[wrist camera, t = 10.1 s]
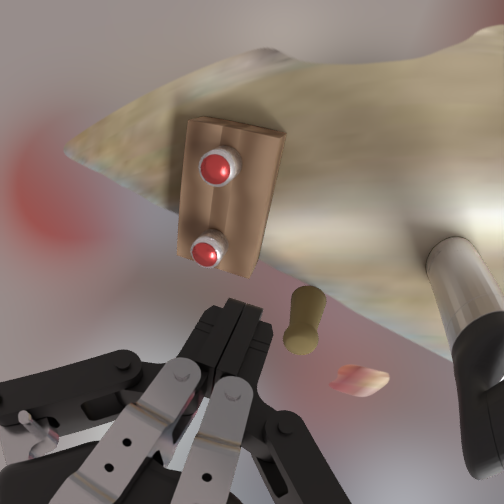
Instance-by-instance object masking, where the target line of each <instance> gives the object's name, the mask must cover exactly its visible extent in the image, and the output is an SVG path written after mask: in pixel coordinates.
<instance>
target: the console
mask: <svg viewBox="0 0 504 504" xmlns="http://www.w3.org/2000/svg"><path fill="white" fill-rule="evenodd" d="M286 135H287V133H284V132H280V131H275V130H271V129H267V128H262V127H258V126H253V125H249V124H244V123H239V122H234V121H228V120H223V119H217V118H212V117H206V116H203V117H199V118H195V119H190V120H188V125H187V133H186V142H185V151H184V160H183V171H182V182H181V194H180V207H179V223H178V241H177V255H178V256H181V257H184V258H187V259H190V260H193V261H194V259H193V258H192V256H191V251H190V249H191V246H192V244H193V243H194V242H195V241H196V239H197V238H198V237H199V236H200V235H201V234H202V233H203V232H204V231H205V230H208V229H215V230H218V231H220V232H221V233H222V234H224V236H225V237H226V238H227V240H228V245H229V246H228V250H227V252H226V253H225V255H224V256H223V258H222V259H221V261H220V262H219V264H218V265H217V266H215V267H214V268H217V269H220V270H223V271H227V272H229V273H232V274H236V275H238V276H242V277H245V278H248V279H249V278H250V276H251V274H252V272H253V270H254V268H255V266H256V264H257V262H258V258H259V254H260V249H261V245H262V241H263V236H264V232H265V228H266V223H267V219H268V214H269V210H270V206H271V201H272V197H273V192H274V188H275V184H276V179H277V175H278V170H279V166H280V161H281V157H282V153H283V148H284V144H285V139H286ZM219 146H230V147H232V148H234V149H235V150H236V151H237V152H238V153H239V154H240V156H241V159H242V169H241V171H240V173H239V174H238V175H237V176H236V177H235V178H234V179H232V180H231V181H230V182H229V183H228V184H226V185H224V186H221V187H214V186H211V185H209V184H207V183H206V182H205V181H204V180H203V179H202V177H201V176H200V173H199V161H200V159H201V157H202V156H203V155H204V154H205V153H207V152H209V151H211V150H213V149H215V148H217V147H219Z"/></svg>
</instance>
